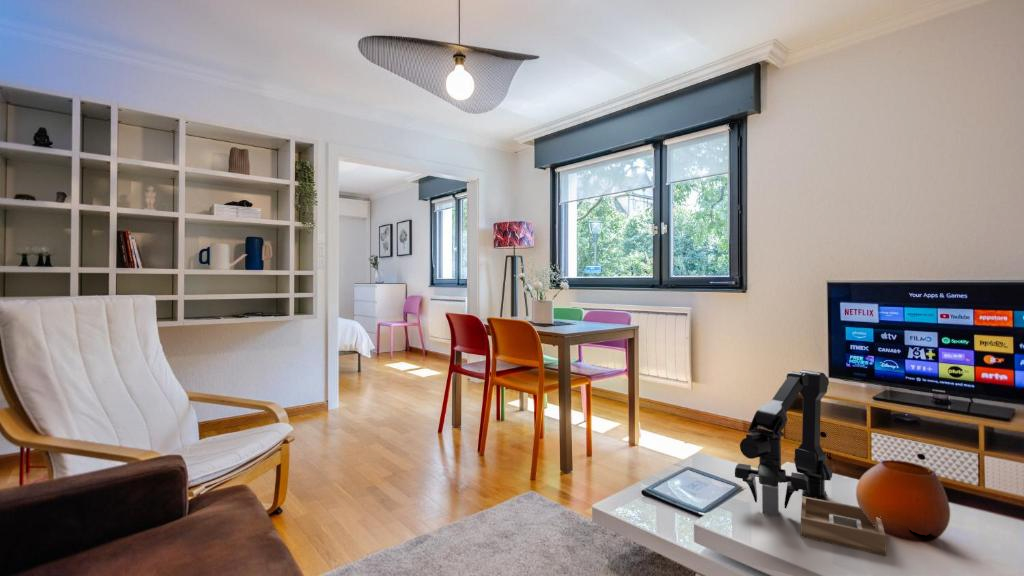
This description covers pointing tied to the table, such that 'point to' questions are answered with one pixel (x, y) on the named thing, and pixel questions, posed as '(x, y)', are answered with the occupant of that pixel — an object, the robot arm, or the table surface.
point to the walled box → (841, 526)
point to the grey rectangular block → (770, 500)
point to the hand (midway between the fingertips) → (770, 504)
